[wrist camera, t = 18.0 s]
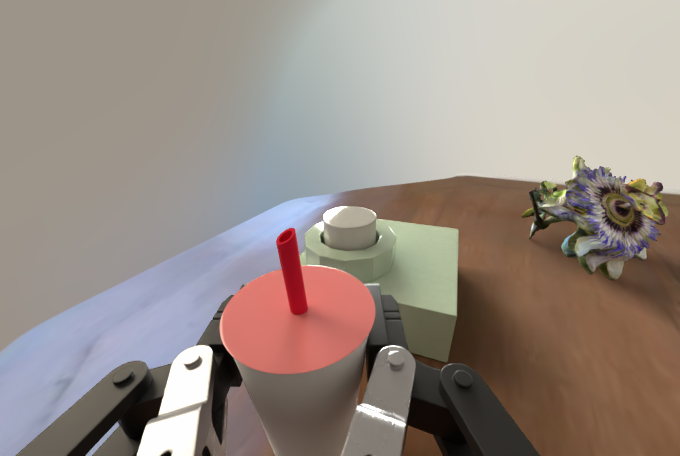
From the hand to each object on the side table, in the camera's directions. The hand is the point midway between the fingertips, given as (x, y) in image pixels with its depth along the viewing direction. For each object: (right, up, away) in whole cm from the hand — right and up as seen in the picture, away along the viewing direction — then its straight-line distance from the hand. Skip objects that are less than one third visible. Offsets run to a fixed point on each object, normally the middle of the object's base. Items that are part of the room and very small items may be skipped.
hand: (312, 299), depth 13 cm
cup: (0, -8, +1) cm, 8 cm away
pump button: (+2, +2, +8) cm, 9 cm away
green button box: (+5, -2, +12) cm, 13 cm away
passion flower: (+25, 0, +16) cm, 30 cm away
